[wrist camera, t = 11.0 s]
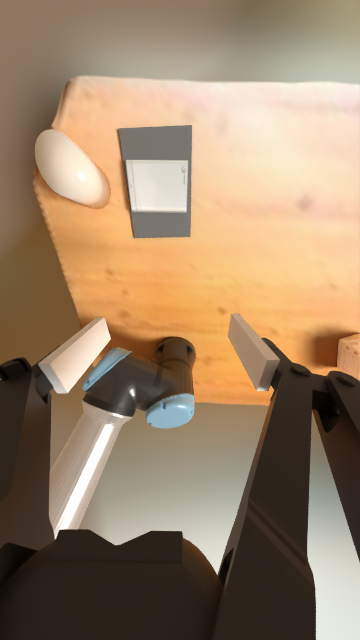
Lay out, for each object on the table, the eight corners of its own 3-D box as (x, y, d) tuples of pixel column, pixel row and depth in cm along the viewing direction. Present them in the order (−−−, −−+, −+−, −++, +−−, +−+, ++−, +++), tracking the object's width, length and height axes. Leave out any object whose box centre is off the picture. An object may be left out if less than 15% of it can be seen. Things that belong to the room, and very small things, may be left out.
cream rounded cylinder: (114, 208, 33) (92, 196, 25) (81, 209, 33) (48, 198, 25) (105, 161, 29) (75, 128, 21) (68, 162, 29) (24, 130, 21)
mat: (190, 236, 35) (190, 236, 34) (135, 238, 35) (134, 237, 35) (191, 127, 27) (191, 125, 26) (119, 130, 27) (118, 128, 26)
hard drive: (188, 159, 27) (125, 158, 27) (186, 211, 31) (131, 210, 31) (188, 163, 29) (128, 163, 29) (186, 213, 32) (133, 212, 32)
